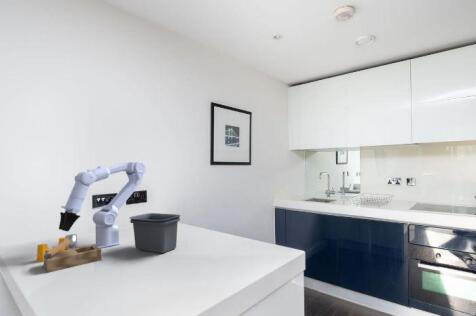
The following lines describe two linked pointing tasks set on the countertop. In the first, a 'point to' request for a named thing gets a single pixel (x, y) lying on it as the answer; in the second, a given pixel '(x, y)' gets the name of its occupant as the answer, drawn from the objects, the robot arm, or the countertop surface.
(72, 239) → the peg
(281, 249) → the countertop surface
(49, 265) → the wooden box
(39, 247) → the pipe clamp
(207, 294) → the countertop surface
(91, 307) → the countertop surface
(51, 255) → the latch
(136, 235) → the storage bin
